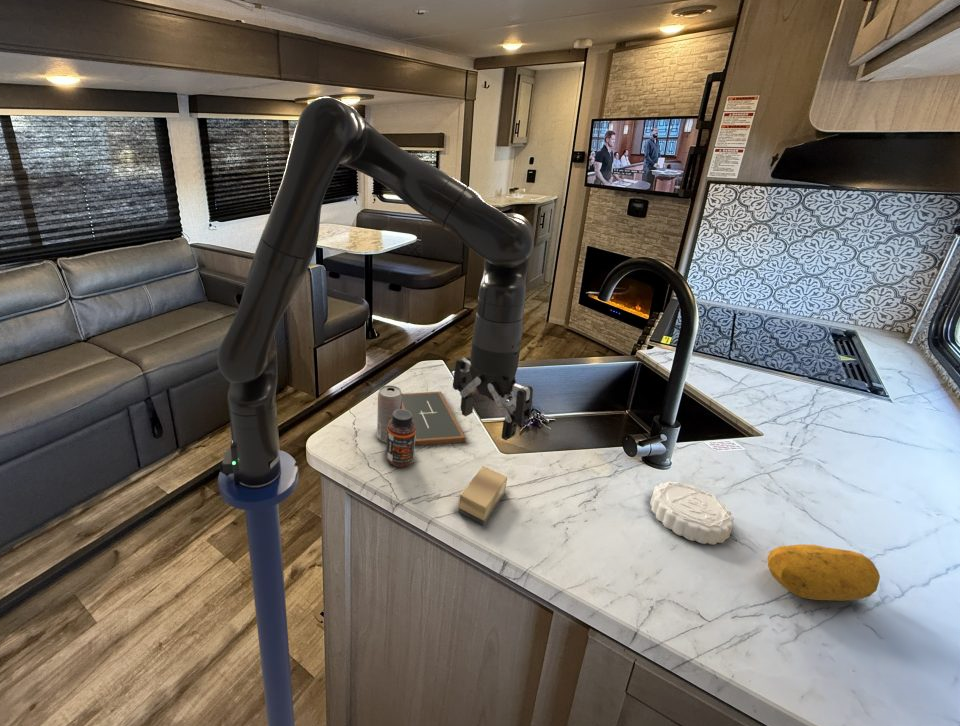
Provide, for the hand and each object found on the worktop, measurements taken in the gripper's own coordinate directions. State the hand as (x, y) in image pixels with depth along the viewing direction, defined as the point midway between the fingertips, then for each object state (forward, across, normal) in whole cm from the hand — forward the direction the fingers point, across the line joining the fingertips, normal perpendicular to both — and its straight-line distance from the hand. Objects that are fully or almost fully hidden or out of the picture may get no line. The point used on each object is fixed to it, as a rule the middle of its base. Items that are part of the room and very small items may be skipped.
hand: (486, 425), depth 79 cm
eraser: (+18, 0, +2) cm, 18 cm away
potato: (+18, +42, +28) cm, 54 cm away
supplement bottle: (+18, -19, -2) cm, 26 cm away
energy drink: (+18, -26, +1) cm, 32 cm away
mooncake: (+18, +25, +29) cm, 42 cm away
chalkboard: (+18, -26, +13) cm, 34 cm away
